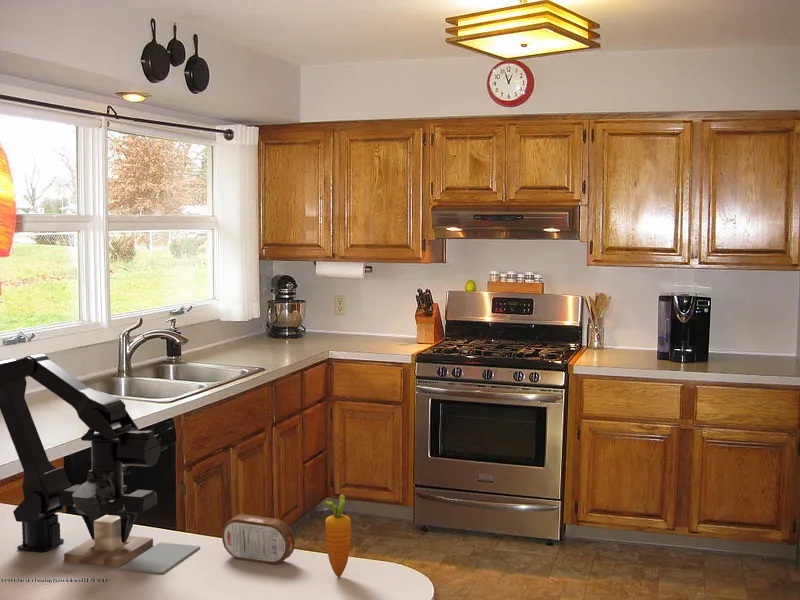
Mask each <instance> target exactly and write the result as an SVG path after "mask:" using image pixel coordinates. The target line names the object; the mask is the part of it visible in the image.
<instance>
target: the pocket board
mask: <svg viewBox="0 0 800 600" xmlns="http://www.w3.org/2000/svg"><path fill="white" fill-rule="evenodd" d="M153 546H154V537H145V536H144V537H143V536H133V535H129V536H128V539H127V541H126V542H125V543H124V546H123V547H121V548H119V549H118V550H116V551H114V552H110V551H101V550H95V544H94V540H92V538H90V539H88V540H86V541H85V542H82V543H81V544H78V545H77V546H75V547H74V548H72V549H69V550H67V551H66V552H65V553H64V554H63V562H69V563H77V564H86V565H95V566H105V567H115V568H120V567H122V566H123V565H125V564H127V563H128V562H130V561H131V560H133V559H134V558H136V557H138V556H139V555H141V554H142V553H144V552H146V551H147V550H149V549H150V548H152V547H153Z"/></svg>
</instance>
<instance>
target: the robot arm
mask: <svg viewBox="0 0 800 600" xmlns="http://www.w3.org/2000/svg"><path fill="white" fill-rule="evenodd" d="M28 377H30V378H32V380H34V381H36V382H37V383H39V384H40V385H41V386H42V387H44V388H46V389H47V390H49V391H50V392H51V393H53V394H54V395H55V396H57V397H59V398H60V399H61V400H63V401H64V402H65V403H67V404H68V405H70V407H72V408H73V409H74V410H75V411H76V413H77V416H78V419H80V420H81V422H83V423H84V424H85V426H86V427H88V431H87V432H86V433H84V434H83V435H82V436H81V438H80V440H81V441H82V442H85V441H86V442H90V443H91V447H90V448H91V469H90V470H88V471H87V475H86V481H85V482H84V483H82V484H75V485H72V483H71V482H70V481H69V479H68V477H67V474H66V470H65V468H64V467H63V466H61V467H58V468H56V467H55V466H54V465H53V464H52V463H50V461H49V458H48V456H47V452H46V450H45V448H44V445H43V442H42V440H41V438H40V435H39V432H38V430H37V427H36V424H35V422H34V419H33V416H32V413H31V410H30V407H29V406H28V403H27V401H26V398H25V395H26V389H27V382H28V381H27V378H28ZM0 412H1V415H2V418H3V420H4V423H5V425H6V428H7V431H8V433H9V436H10V439H11V442H12V444H13V447H14V449H15V452H16V454H17V457H18V459H19V462H20V465H21V467H22V470H23V480H22V485H21V486H22V487H21V488H22V489H21V490H22V495H23V498H24V499H23V500H22V501H21V502H20V503H19V504H18V505H17V506H16V507H15V509H14V510H13V511H12V512H13V513H12V514H13V516H14V519H15V521H16V522H20V523H21V528H22V529H21V530H22V532H21V533H22V534H21V535H22V543H21V544H20V545H18V546H16V549H17V550H22V551H30V552H38V553H39V552H41V553H44V552H46V551H49V550H51V549H53V548H55V547H57V546H58V545H61V544H62V543H64V542H65V539H63V538H61V523H60V522H59V514H57V513H59V512H62V511H63V510H64V508H65V507H70V509H71V511H75V512H77V513H78V514H79V515H80V516H81V517H82V519H83V522H84V523H85V526H86V528H87V530H88V533H89V535H90V539H92V540H94V521H95V520H97V519H99V518H100V512H101V506H102V505H108V504H119V505H120V504H121V505H123V506H122V507H123V509H120V510H119V511H117V512H116V514H117V516H119V517H120V518H121V540H122V543H125V542H126V541H127V539H128V536H130V533H131V532H132V528H133V526H134V524H135V521H136V520H137V518H138V516H139V514H140V513H143V512H145V511H147V510H149V509H151V508H153V507H155V506H156V505H158V495H157V493H156V492H155V491H154V490H147V489H136V490H135V491H133V492H131V493H124V492H126V491H128V485H127V484H125V485H124V472H126V471H127V470H128V469H127V467H128V466H138V467H148V468H149V467H151V468H152V467H154V466H155V465H156V464H158V461H159V460H160V457H161V449H162V448H161V445H160V441H159V440H158V438H157V437H155V431H154V430H139V427H138V426H137V424H136V423H135V421H134V420H133V418H132V417H131V415H130V414H129V412H128V411H127V409H126V404H125V402H123V400H122V399H120V398H118V397H116V396H114V395H112V394H110V393H107V392H102V391H101V390H99V391H98V390H97V389H96V390H95V389H93V388H91V387H89V386H88V385H86V384H85V383H83V382H82V381H80V380H79V379H78V378H76V377H75V376H73V375H72V374H71V373H69V372H68V371H66V370H65V369H64V368H62V367H60V366H59V365H57V364H56V363H54V362H53V361H52V360H50V357H49V356H48V355H46V354H44V353H37V354H32V355H26V356H25V357H23V358H19V359H15V358H5V359H0ZM118 426H119V427H118ZM71 485H72V486H71Z"/></svg>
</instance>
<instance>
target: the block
mask: <svg viewBox="0 0 800 600" xmlns="http://www.w3.org/2000/svg"><path fill="white" fill-rule="evenodd" d="M94 544H95V550H101V551H110V552H114V551H116V550H118V549H119V548H121V547H123V546H124V543H122V540H121V518H120V517H119V515H112V514H110V515H109V514H105V515H103V516H101V517H99V519H97V520H95V521H94Z"/></svg>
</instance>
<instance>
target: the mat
mask: <svg viewBox="0 0 800 600" xmlns="http://www.w3.org/2000/svg"><path fill="white" fill-rule="evenodd" d="M199 549H201V546H199V545H189V544H180V543H172V542H158V543H157V544H156V545H153V546H152V547H150V548H148V549H147V550H145V551H144V552H142V553H140V554H139V555H137V556H136V557H134V558H132V559H131V560H129V561H128V562H126V563H124V564H123V565H121V566H120V567H119V570H121V571H130V572H138V573H139V572H140V573H148V574H156V575H164V574H165V573H167V572H168V571H170V570H171V569H172V568H174V567H175V566H177V565H178V564H179V563H182V561H184V560H186V559H187V558H188V557H189V556H191V555H192V554H194V553H195V552H197V551H198V550H199Z"/></svg>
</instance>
